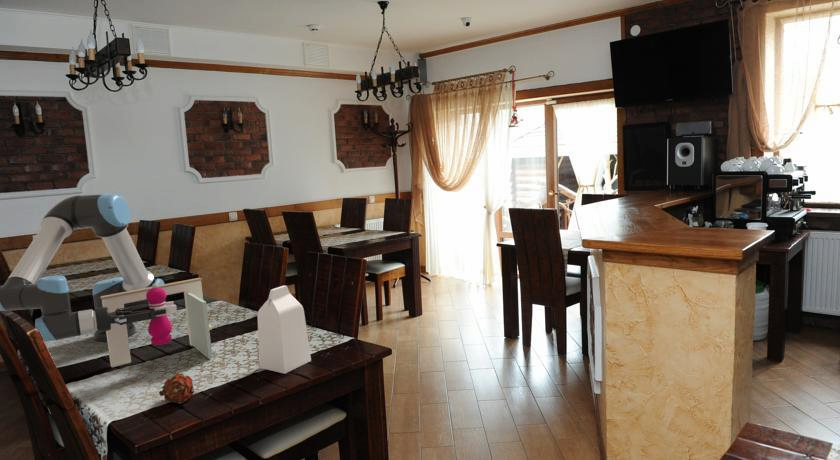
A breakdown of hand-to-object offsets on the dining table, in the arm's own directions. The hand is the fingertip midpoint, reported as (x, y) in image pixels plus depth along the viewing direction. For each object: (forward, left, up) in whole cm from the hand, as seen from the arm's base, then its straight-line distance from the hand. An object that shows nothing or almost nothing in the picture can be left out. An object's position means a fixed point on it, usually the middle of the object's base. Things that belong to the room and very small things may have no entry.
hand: (175, 306), depth 187 cm
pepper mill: (-1, -5, -11) cm, 12 cm away
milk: (+29, +24, -20) cm, 42 cm away
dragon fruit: (+30, -11, -20) cm, 38 cm away
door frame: (-17, -1, -20) cm, 26 cm away
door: (-6, +10, -19) cm, 23 cm away
